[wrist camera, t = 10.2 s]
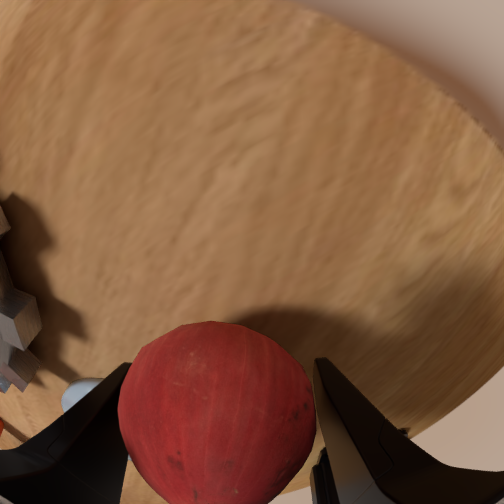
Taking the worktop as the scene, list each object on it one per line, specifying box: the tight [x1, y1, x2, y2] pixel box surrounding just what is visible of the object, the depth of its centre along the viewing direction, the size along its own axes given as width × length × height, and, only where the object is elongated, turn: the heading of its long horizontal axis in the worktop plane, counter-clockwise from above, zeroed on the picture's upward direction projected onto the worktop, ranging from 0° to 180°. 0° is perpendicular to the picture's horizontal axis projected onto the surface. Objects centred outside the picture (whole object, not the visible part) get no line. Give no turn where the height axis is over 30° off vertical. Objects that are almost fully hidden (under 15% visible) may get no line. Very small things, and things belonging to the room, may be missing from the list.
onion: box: [118, 321, 317, 504], centre depth 7 cm, size 6×6×8 cm
